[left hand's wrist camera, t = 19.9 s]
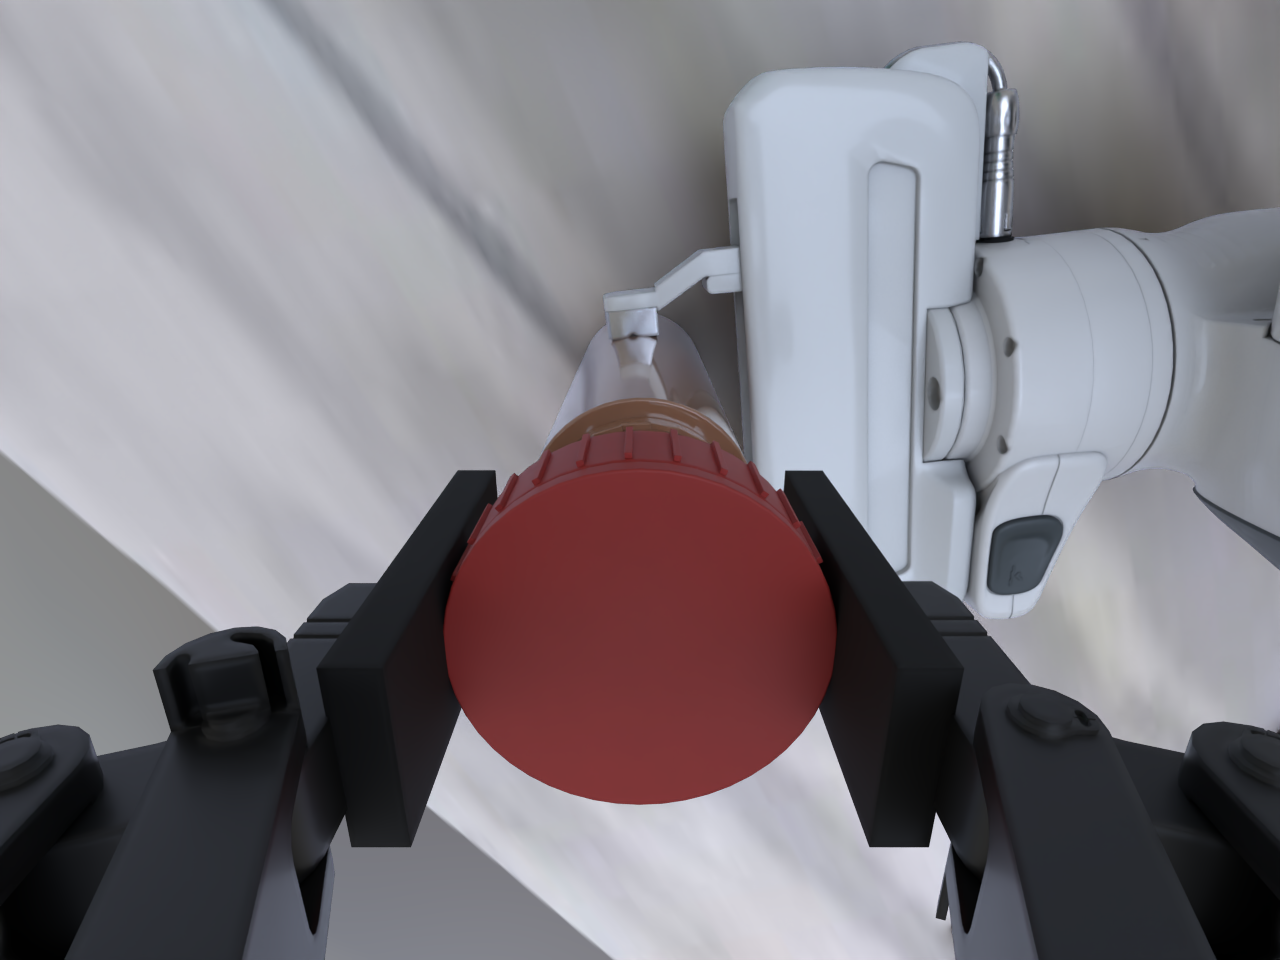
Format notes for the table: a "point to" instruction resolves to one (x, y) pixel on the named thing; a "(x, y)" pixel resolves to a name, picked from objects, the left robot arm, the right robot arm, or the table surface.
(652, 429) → the jar
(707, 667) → the lid
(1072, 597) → the table surface
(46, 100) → the table surface
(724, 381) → the table surface
